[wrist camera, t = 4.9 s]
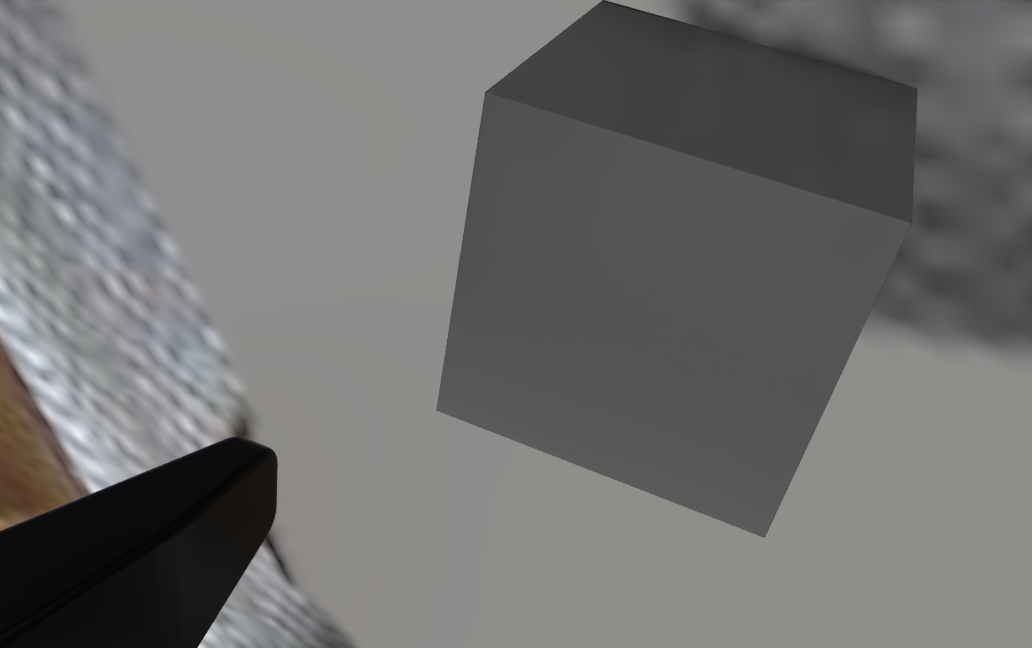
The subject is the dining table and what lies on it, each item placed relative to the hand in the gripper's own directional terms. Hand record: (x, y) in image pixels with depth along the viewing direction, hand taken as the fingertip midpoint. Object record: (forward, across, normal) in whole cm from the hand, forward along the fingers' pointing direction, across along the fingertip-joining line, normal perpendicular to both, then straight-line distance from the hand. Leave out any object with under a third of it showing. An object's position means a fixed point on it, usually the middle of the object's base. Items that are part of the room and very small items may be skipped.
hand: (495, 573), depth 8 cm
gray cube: (+10, 0, 0) cm, 10 cm away
